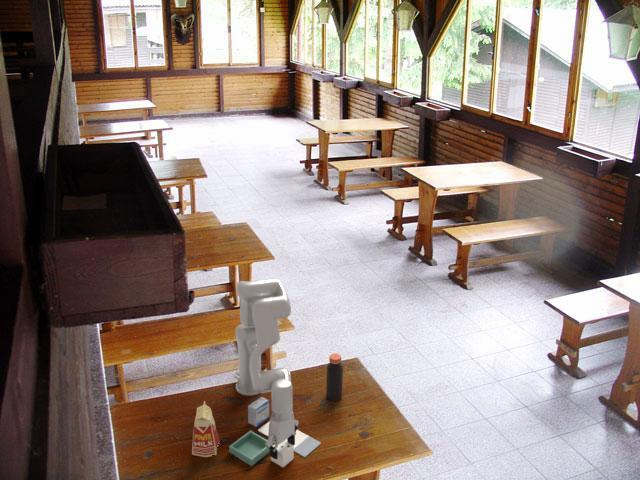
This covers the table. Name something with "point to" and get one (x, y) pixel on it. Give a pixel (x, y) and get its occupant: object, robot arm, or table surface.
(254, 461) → the dice tray
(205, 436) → the milk carton
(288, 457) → the die
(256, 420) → the medicine box
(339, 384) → the bottle
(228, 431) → the table surface
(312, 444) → the track
